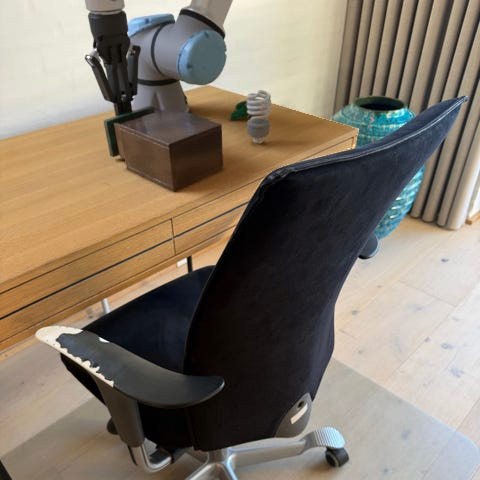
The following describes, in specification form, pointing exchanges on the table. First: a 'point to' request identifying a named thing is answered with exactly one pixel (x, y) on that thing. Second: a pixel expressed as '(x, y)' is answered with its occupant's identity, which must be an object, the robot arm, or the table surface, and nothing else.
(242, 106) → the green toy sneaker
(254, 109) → the light bulb
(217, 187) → the table surface
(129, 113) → the drawer
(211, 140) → the cabinet
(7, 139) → the table surface
